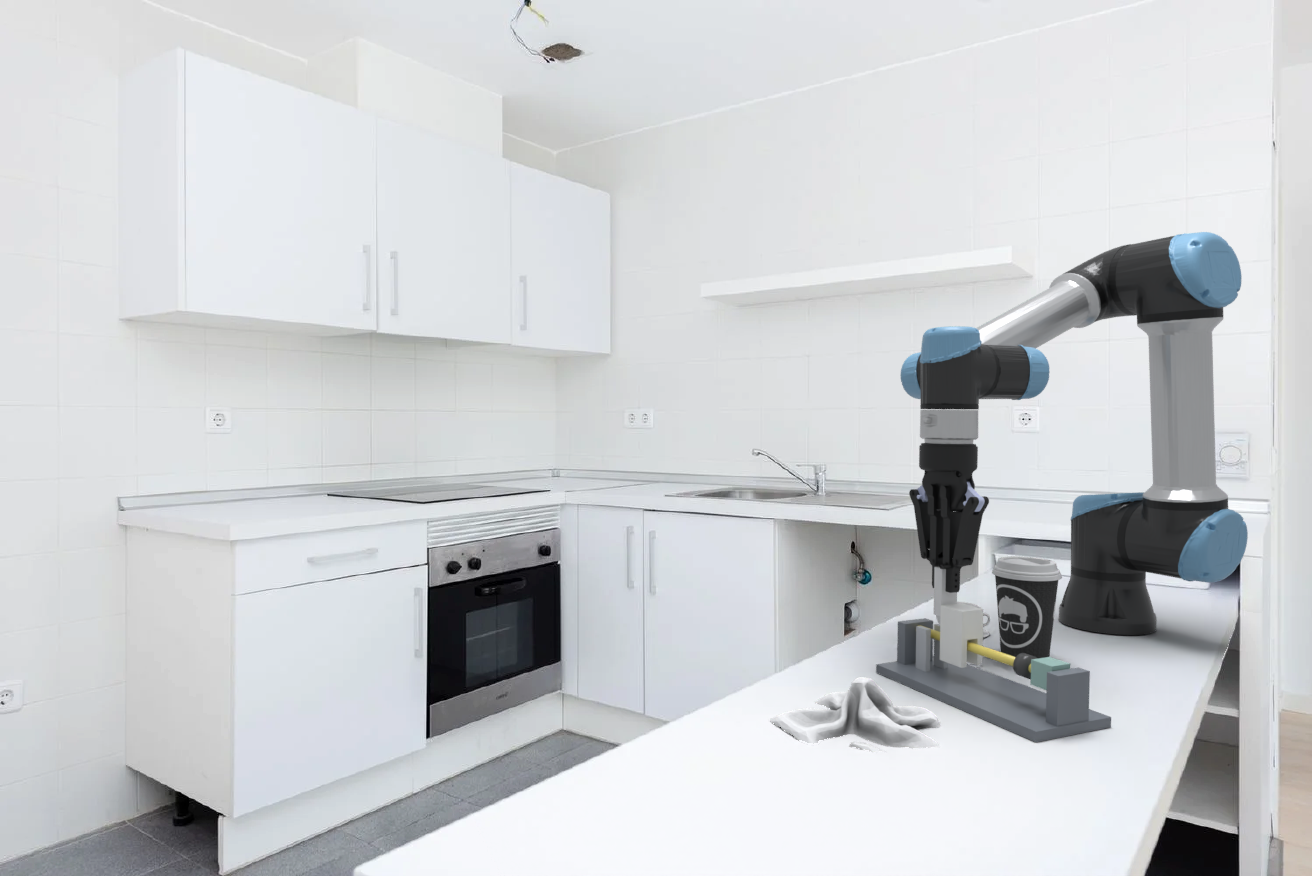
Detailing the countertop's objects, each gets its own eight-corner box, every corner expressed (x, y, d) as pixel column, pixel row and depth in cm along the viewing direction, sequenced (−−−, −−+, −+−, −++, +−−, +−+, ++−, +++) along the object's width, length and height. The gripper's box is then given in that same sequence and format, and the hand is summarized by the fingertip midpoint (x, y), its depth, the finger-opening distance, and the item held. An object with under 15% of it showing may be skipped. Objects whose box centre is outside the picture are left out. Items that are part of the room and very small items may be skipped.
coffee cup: (1067, 673, 123) (1070, 567, 123) (996, 668, 125) (998, 565, 125) (1051, 654, 132) (1053, 556, 132) (985, 650, 134) (986, 554, 134)
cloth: (750, 738, 99) (751, 684, 99) (812, 693, 115) (812, 647, 115) (950, 783, 88) (951, 723, 87) (988, 727, 103) (989, 676, 103)
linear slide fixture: (876, 672, 123) (877, 619, 122) (942, 663, 127) (943, 612, 127) (1035, 742, 97) (1037, 676, 97) (1111, 727, 102) (1112, 663, 102)
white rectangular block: (939, 659, 117) (940, 605, 117) (960, 656, 118) (961, 603, 118) (961, 668, 113) (962, 611, 113) (982, 664, 115) (983, 609, 114)
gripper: (894, 440, 122) (891, 606, 123) (961, 443, 110) (957, 628, 111) (936, 439, 125) (933, 602, 126) (1006, 443, 113) (1002, 623, 114)
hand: (945, 614), depth 118 cm, fingers closed
